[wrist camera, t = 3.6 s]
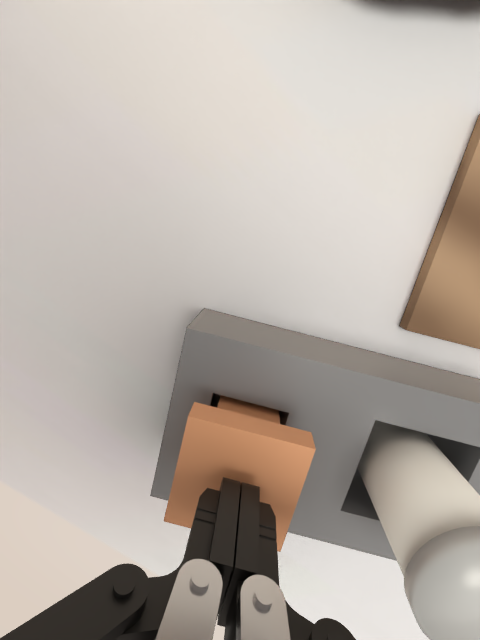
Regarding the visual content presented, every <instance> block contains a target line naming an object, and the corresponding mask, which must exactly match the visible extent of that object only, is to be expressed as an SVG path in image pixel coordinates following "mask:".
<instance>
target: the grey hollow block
mask: <svg viewBox="0 0 480 640" xmlns="http://www.w3.org/2000/svg"><path fill="white" fill-rule="evenodd" d="M221 395H222V396H226V397H230V398H234V399H238V400H241V401H245V402H249V403H253V404H257V405H261V406H264V407H268V408H272V409H276V410H279V417H280V424H282V425H285V426H289V427H293V428H297V429H301V430H305V431H308V432H311V433H312V437H313V440H314V444H315V448H316V450H315V453H314V456H313V459H312V462H311V465H310V468H309V470H308V473H307V476H306V479H305V482H304V485H303V488H302V491H301V494H300V496H299V499H298V502H297V505H296V508H295V511H294V514H293V517H292V519H291V522H290V525H289V528H288V531H287V532H290V533H293V534H297V535H301V536H305V537H309V538H312V539H316V540H320V541H324V542H328V543H331V544H335V545H339V546H343V547H347V548H350V549H354V550H358V551H362V552H366V553H370V554H373V555H377V556H381V557H385V558H389V559H392V560H396V561H397V559H396V557H395V555H394V552H393V550H392V548H391V545H390V543H389V541H388V538H387V536H386V534H385V531H384V529H383V527H382V524H381V522H380V520H379V517H378V515H377V513H376V510H375V508H374V506H373V503H372V501H371V498H370V496H369V494H368V491H367V489H366V487H365V484H364V482H363V480H362V477H361V475H360V473H359V470H358V468H357V466H358V464H359V461H360V459H361V456H362V454H363V451H364V448H365V446H366V443H367V441H368V438H369V435H370V433H371V430H372V428H373V425H374V423H375V420H377V421H381V422H385V423H388V424H392V425H396V426H400V427H404V428H408V429H412V430H415V431H419V432H423V433H426V434H427V435H428V437H429V438H430V439H431V440H432V441H433V442H434V443H435V445H436V446H437V447H438V448H439V449H440V450H441V452H442V453H443V454H444V455H445V456H446V457H447V458H448V460H449V461H450V462H451V463H452V464H453V465H454V467H455V468H456V469H457V470H458V471H459V472H460V473H461V475H462V476H463V477H464V478H465V479H466V480H467V481H468V483H469V484H470V485H471V486H472V487H473V488H474V490H475V491H476V492H477V493H478V494H479V495H480V379H477V378H473V377H469V376H465V375H461V374H457V373H453V372H449V371H446V370H442V369H438V368H434V367H430V366H426V365H422V364H418V363H415V362H411V361H407V360H403V359H399V358H395V357H391V356H387V355H384V354H380V353H376V352H372V351H368V350H364V349H360V348H356V347H352V346H349V345H345V344H341V343H337V342H333V341H329V340H325V339H321V338H318V337H314V336H310V335H306V334H302V333H298V332H294V331H290V330H286V329H283V328H279V327H275V326H271V325H267V324H263V323H259V322H255V321H252V320H248V319H244V318H240V317H236V316H232V315H228V314H224V313H220V312H217V311H213V310H209V309H205V308H204V309H203V310H202V312H201V313H200V314H199V315H198V316H197V317H196V318H195V319H194V320H193V321H192V323H191V324H190V325H189V326H188V327H187V329H186V333H185V338H184V343H183V347H182V352H181V356H180V361H179V366H178V370H177V375H176V379H175V384H174V389H173V393H172V398H171V403H170V407H169V412H168V416H167V421H166V426H165V430H164V435H163V440H162V444H161V449H160V453H159V458H158V463H157V467H156V472H155V477H154V481H153V486H152V490H151V495H150V496H153V497H157V498H160V499H164V500H169V496H170V492H171V487H172V483H173V479H174V474H175V470H176V466H177V462H178V457H179V453H180V449H181V444H182V440H183V436H184V432H185V427H186V423H187V419H188V415H189V413H190V411H191V408H192V406H193V404H194V402H197V403H201V404H205V405H208V406H212V407H216V408H217V406H218V403H219V399H220V396H221Z"/></svg>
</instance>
